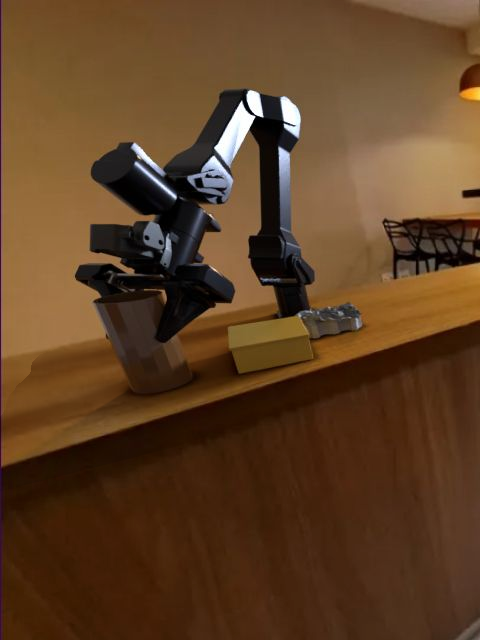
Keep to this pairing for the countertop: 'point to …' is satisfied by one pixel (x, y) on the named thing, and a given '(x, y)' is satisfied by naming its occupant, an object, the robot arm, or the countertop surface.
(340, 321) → the grey knobbed block
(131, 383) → the brown faceted cup
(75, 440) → the countertop surface
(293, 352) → the yellow block
